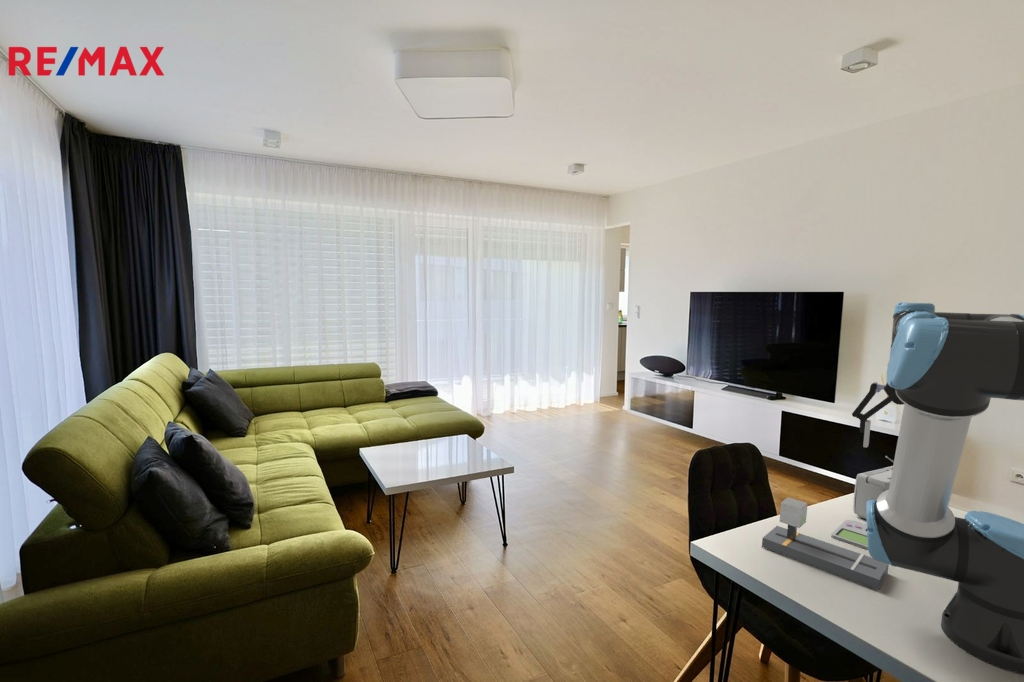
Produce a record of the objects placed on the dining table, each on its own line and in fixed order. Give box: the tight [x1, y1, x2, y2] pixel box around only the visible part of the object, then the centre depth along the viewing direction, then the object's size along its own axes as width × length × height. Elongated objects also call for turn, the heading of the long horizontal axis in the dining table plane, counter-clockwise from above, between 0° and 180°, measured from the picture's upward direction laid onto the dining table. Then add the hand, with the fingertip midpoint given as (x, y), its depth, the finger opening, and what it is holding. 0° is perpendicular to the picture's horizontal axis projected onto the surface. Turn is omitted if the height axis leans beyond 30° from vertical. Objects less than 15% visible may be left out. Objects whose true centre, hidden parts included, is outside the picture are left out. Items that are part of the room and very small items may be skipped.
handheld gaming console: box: [831, 519, 868, 551], centre depth 131 cm, size 10×2×15 cm
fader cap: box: [779, 496, 808, 540], centre depth 123 cm, size 4×5×9 cm
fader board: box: [761, 525, 890, 591], centre depth 118 cm, size 24×10×3 cm, turn 43°
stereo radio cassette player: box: [852, 455, 894, 521], centre depth 143 cm, size 21×8×20 cm, turn 115°
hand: (899, 452), depth 120 cm, fingers open, 13 cm apart
